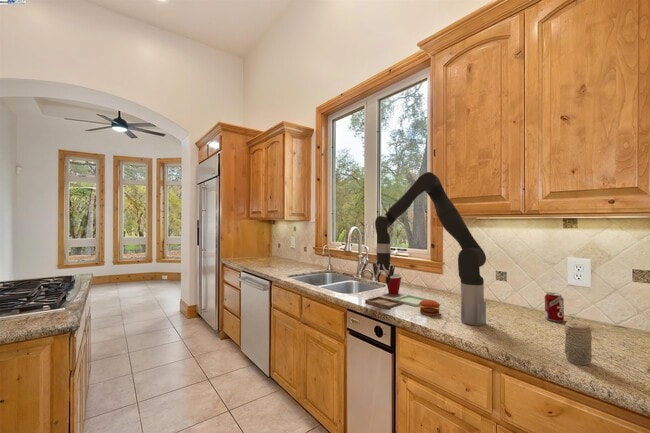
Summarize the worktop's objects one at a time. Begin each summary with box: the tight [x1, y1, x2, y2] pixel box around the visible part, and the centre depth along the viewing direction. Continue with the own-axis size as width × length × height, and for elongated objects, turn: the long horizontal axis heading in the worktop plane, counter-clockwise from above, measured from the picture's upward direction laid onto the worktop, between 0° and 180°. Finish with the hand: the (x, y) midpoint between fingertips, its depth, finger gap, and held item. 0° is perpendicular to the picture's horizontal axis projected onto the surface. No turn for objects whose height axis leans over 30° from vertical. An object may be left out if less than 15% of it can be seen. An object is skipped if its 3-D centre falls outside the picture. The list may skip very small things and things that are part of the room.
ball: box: [379, 273, 386, 284], centre depth 159 cm, size 5×5×5 cm
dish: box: [392, 294, 433, 308], centre depth 162 cm, size 15×15×2 cm
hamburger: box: [419, 299, 441, 317], centre depth 142 cm, size 9×10×7 cm
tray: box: [364, 295, 403, 310], centre depth 159 cm, size 16×12×2 cm
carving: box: [564, 321, 593, 366], centre depth 92 cm, size 6×8×12 cm
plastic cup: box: [386, 273, 403, 296], centre depth 181 cm, size 11×11×12 cm
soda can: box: [544, 291, 565, 323], centre depth 132 cm, size 7×7×12 cm
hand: (383, 282), depth 159 cm, fingers closed on ball, 5 cm apart
